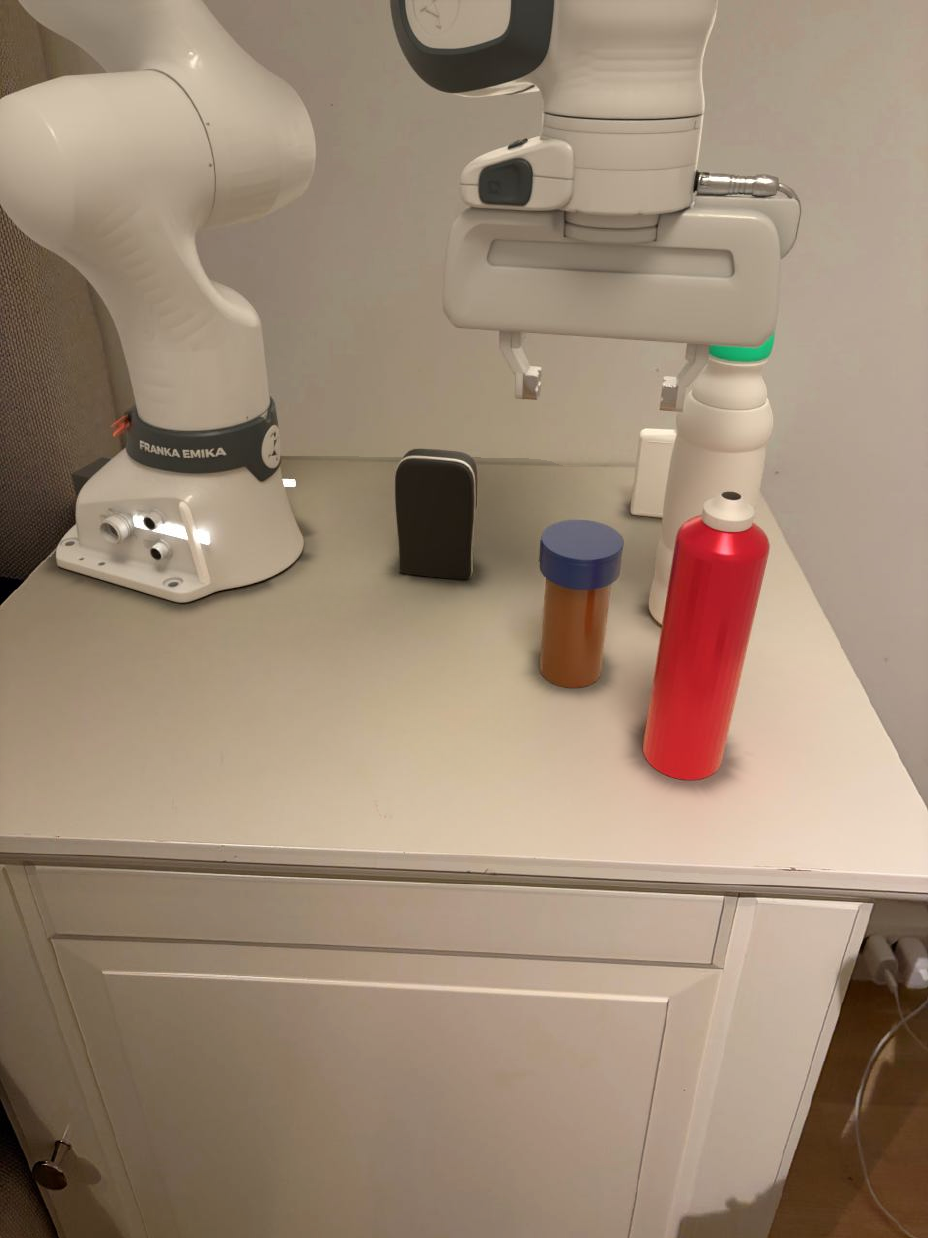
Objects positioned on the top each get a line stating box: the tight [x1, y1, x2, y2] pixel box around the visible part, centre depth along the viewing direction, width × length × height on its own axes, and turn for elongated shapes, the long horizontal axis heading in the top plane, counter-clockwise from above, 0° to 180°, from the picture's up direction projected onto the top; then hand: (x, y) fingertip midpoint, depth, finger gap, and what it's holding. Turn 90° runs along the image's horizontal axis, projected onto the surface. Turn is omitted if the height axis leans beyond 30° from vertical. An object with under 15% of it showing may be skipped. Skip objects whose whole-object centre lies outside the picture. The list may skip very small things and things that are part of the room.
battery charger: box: [394, 448, 478, 580], centre depth 82 cm, size 7×4×11 cm, turn 80°
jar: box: [539, 578, 612, 689], centre depth 70 cm, size 5×5×11 cm
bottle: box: [642, 491, 771, 781], centre depth 59 cm, size 5×5×20 cm
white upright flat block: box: [629, 423, 677, 519], centre depth 91 cm, size 8×2×12 cm, turn 79°
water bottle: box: [648, 331, 776, 626], centre depth 72 cm, size 7×7×25 cm
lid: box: [538, 519, 625, 590], centre depth 67 cm, size 6×6×2 cm
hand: (598, 402), depth 61 cm, fingers open, 8 cm apart
